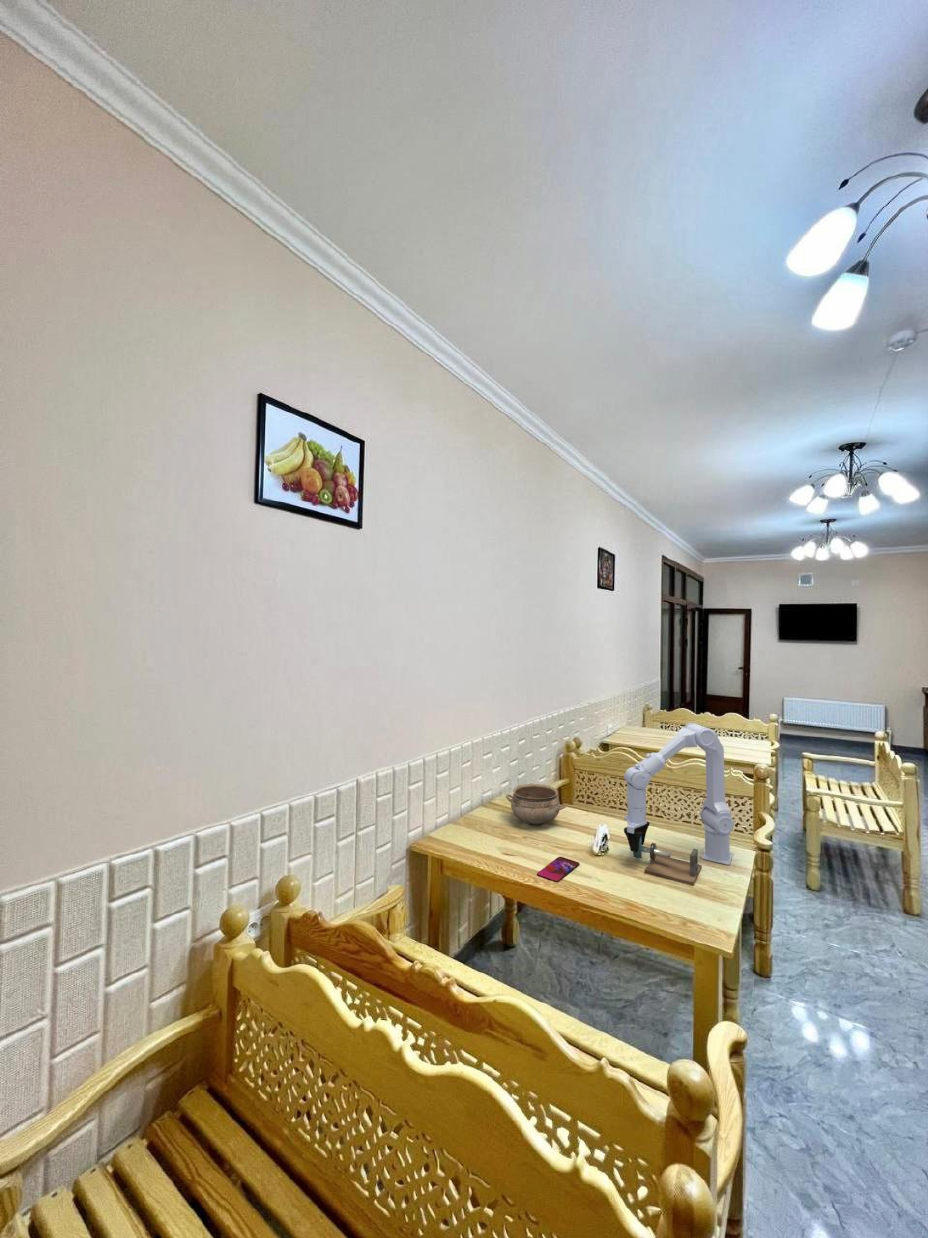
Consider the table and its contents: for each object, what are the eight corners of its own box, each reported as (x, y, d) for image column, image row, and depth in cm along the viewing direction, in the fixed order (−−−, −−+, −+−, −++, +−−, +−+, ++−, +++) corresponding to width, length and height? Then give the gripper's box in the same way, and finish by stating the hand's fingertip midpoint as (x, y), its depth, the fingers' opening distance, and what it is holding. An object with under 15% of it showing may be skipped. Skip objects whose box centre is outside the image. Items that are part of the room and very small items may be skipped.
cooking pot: (574, 820, 198) (574, 789, 199) (557, 838, 182) (557, 804, 182) (516, 809, 211) (516, 779, 211) (495, 824, 195) (495, 793, 195)
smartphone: (535, 874, 156) (559, 855, 167) (535, 876, 156) (559, 858, 167) (557, 882, 151) (580, 862, 162) (557, 885, 151) (580, 865, 162)
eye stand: (655, 857, 167) (655, 835, 167) (701, 868, 159) (701, 845, 159) (644, 873, 156) (644, 849, 156) (693, 886, 148) (693, 861, 148)
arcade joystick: (635, 853, 167) (635, 830, 167) (671, 862, 160) (671, 838, 160) (631, 859, 162) (630, 835, 162) (668, 868, 156) (667, 843, 156)
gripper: (630, 797, 172) (631, 837, 172) (617, 810, 160) (617, 853, 160) (652, 801, 168) (652, 842, 168) (639, 814, 156) (640, 859, 156)
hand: (637, 848), depth 164 cm, fingers open, 6 cm apart
